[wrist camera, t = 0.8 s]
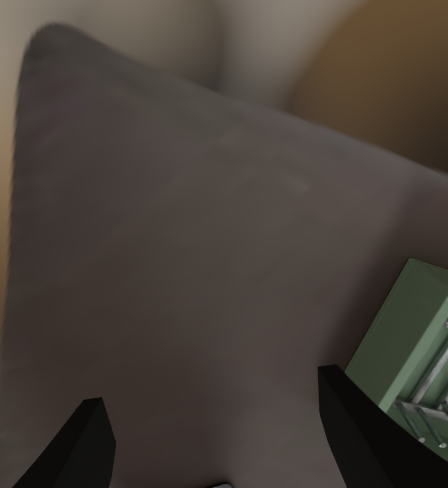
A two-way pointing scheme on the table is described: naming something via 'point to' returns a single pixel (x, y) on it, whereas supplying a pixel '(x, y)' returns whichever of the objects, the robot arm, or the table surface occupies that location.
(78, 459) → the robot arm
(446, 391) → the dish rack
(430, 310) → the green open tray
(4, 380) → the table surface
